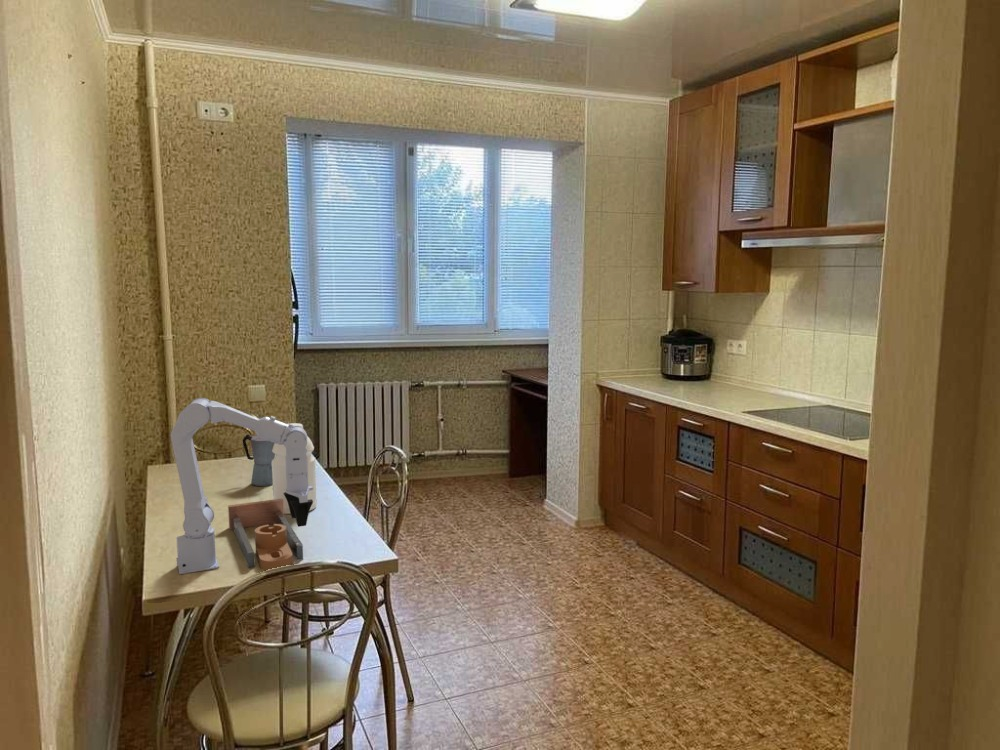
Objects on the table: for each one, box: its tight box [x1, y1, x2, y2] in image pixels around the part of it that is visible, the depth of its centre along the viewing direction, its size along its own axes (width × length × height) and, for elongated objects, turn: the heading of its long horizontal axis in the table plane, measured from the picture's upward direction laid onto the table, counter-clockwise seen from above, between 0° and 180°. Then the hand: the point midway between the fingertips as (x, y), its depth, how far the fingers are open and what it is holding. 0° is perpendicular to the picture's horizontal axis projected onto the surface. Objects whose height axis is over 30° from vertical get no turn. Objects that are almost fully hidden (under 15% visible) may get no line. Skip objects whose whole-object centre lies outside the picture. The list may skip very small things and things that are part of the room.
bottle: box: [272, 422, 318, 515], centre depth 241 cm, size 14×14×28 cm
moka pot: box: [242, 434, 276, 487], centre depth 272 cm, size 10×15×20 cm, turn 81°
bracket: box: [254, 523, 294, 571], centre depth 198 cm, size 18×8×7 cm, turn 24°
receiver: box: [227, 499, 304, 569], centre depth 211 cm, size 16×36×7 cm, turn 26°
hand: (298, 521), depth 198 cm, fingers open, 7 cm apart
